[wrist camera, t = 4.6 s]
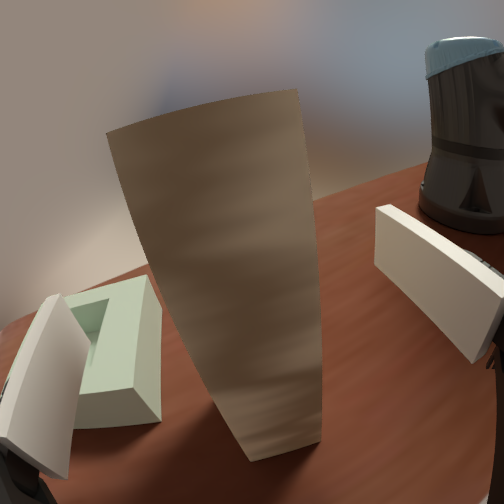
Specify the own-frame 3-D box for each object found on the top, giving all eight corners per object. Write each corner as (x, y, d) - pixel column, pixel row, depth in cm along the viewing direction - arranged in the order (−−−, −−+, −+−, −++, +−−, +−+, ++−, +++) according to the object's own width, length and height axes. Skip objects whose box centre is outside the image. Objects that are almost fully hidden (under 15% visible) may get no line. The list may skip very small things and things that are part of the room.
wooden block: (289, 366, 18) (243, 98, 11) (321, 440, 13) (296, 88, 5) (231, 382, 18) (144, 122, 10) (250, 462, 13) (105, 133, 5)
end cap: (162, 309, 26) (146, 274, 24) (161, 421, 16) (133, 387, 14) (61, 333, 25) (42, 303, 23) (31, 428, 14) (-1, 398, 13)
